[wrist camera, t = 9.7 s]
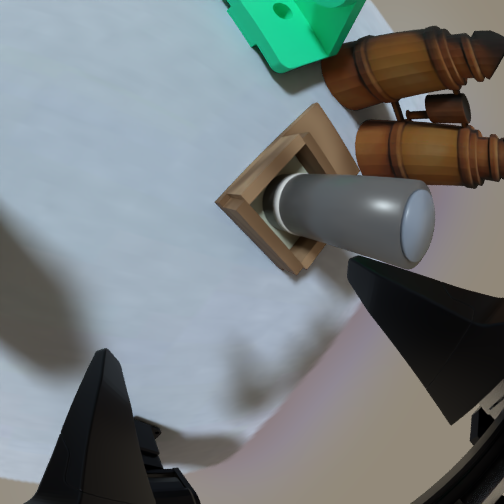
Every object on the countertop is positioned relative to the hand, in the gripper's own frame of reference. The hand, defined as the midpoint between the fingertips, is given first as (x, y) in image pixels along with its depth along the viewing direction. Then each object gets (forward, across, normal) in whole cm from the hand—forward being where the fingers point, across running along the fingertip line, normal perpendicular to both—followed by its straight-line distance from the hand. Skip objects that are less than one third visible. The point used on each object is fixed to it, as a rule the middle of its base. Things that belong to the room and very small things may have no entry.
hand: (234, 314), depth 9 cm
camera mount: (+20, -12, -14) cm, 27 cm away
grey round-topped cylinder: (+14, -8, +4) cm, 16 cm away
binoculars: (+19, -22, -2) cm, 29 cm away
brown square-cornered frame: (+15, -11, +3) cm, 19 cm away
